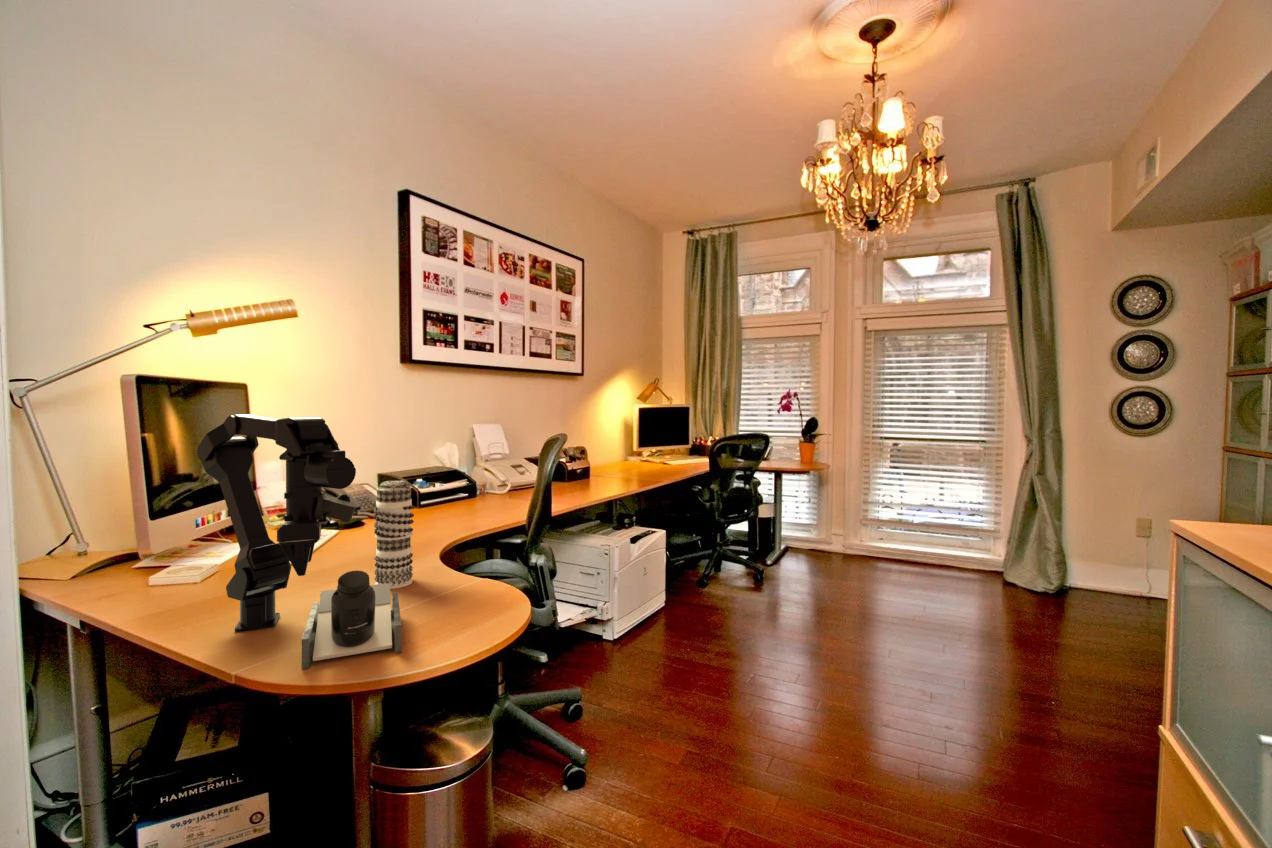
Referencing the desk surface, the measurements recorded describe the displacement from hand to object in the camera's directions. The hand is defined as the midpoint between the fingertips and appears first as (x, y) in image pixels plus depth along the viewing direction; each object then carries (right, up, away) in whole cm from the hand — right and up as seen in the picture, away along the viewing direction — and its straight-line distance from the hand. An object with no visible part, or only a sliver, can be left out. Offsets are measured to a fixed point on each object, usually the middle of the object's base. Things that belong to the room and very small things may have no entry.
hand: (304, 568), depth 100 cm
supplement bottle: (+12, -11, -5) cm, 16 cm away
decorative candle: (+2, -12, +32) cm, 34 cm away
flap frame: (+10, -13, 0) cm, 16 cm away
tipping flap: (+9, -11, 0) cm, 15 cm away
